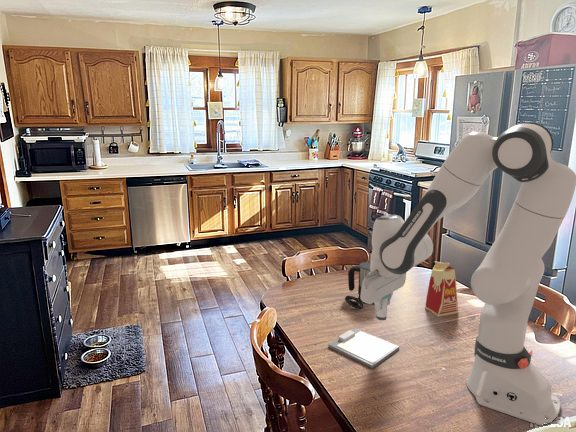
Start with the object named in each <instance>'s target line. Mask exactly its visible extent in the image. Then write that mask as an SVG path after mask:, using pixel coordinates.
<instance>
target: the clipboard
mask: <svg viewBox="0 0 576 432" xmlns="http://www.w3.org/2000/svg"><path fill="white" fill-rule="evenodd" d="M328 348H330V349H332V350H333V351H335V352H338V353H340V354H342V355H344V356H345V357H348V358H350V359H351V360H354V361H356V362H358V363H360V364H362V365H364V366H366V367H368V368H371V369H374V368H375V367H377V366H378V365H379V364H381V363H382V362H384V361H385V360H386V359H388V358H389V357H390V356H391V355H394V354H395V353H396V352H397V351H399V350H400V346H399V345H397V344H396V343H395V344H394V343H392V342H390V341H387V340H386V339H383V338H380V337H379V336H376V335H374V334H371V333H369V332H367V331H364V330H361V329H360V328H357V327H356V328H354V329H352V330H351V329H349V330H347V331H345V332H344V333H342V334H340V335H339V336H338V338H337V339H335V340H334V341H332V342H329V344H328Z"/></svg>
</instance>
